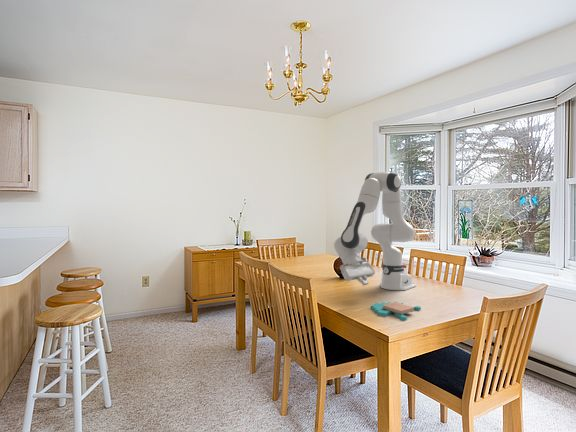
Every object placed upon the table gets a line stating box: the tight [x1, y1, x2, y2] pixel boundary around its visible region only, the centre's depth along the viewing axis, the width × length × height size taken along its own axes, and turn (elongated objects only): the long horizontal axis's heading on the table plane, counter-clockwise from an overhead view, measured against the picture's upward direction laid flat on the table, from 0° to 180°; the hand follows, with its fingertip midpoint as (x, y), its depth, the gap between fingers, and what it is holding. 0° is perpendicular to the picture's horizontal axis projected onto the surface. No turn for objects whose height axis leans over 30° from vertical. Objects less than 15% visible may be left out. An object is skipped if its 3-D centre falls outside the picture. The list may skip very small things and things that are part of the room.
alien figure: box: [370, 301, 422, 322], centre depth 173 cm, size 20×2×20 cm
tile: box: [383, 301, 415, 315], centre depth 170 cm, size 9×2×11 cm
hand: (365, 284), depth 187 cm, fingers closed
